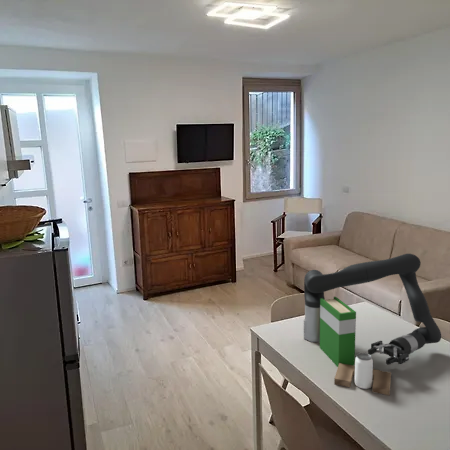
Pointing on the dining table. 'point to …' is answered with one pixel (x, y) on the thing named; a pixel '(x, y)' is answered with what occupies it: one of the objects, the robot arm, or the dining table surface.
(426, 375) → the dining table surface
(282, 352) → the dining table surface
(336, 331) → the hardback book
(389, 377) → the notched board
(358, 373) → the can
